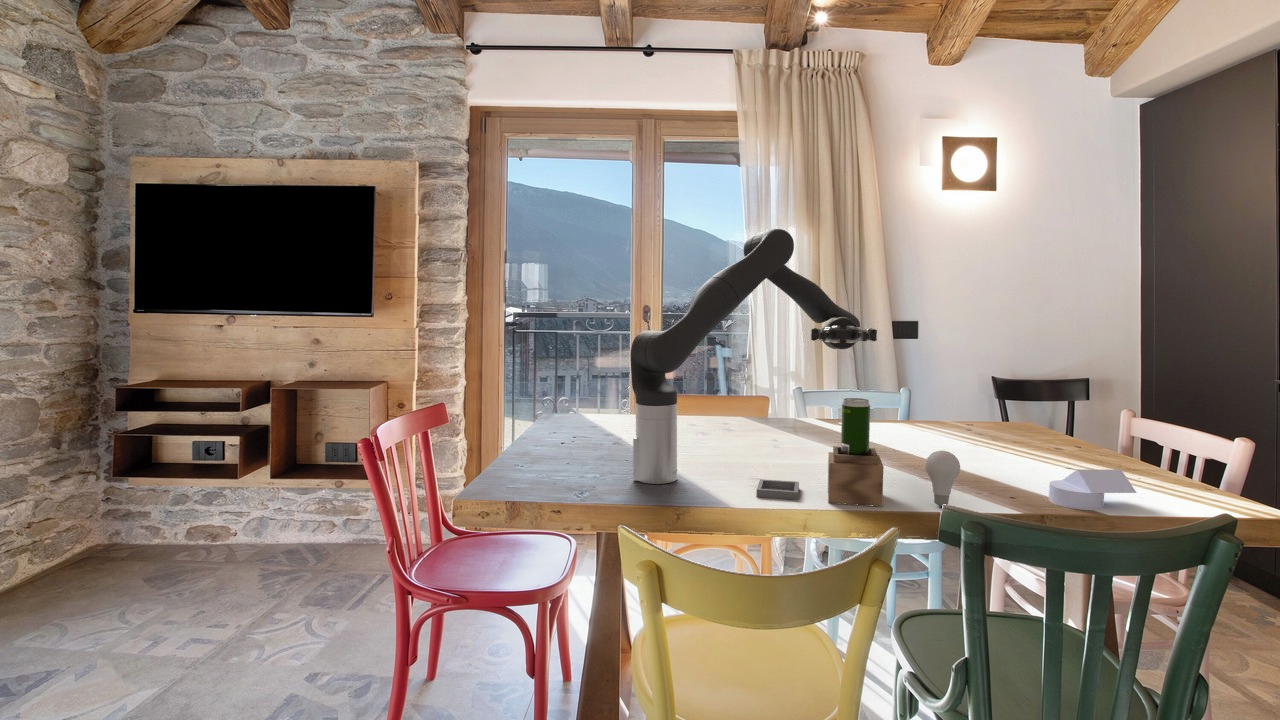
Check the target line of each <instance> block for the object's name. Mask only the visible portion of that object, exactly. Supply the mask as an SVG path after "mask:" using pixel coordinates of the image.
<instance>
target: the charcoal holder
mask: <svg viewBox="0 0 1280 720" xmlns="http://www.w3.org/2000/svg"><path fill="white" fill-rule="evenodd" d="M767 487H768V488H770V489H768V488H767ZM799 491H800V481H793V480H776V479H764V478H763V479H762V478H759V481H758V484H757V487H756V498H767V497H768V498H771V499H781V500H782V499H785V500H794V501H795V500H796V501H798V500H799V493H800V492H799Z"/></svg>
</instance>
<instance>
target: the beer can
mask: <svg viewBox="0 0 1280 720" xmlns="http://www.w3.org/2000/svg"><path fill="white" fill-rule="evenodd" d="M870 419H871V404H870V400H869V399H868V398H867V399H866V398H860V397H859V398H858V397H846V398H843V399H842V403H841V428H840V429H841V431H840V433H841V435H840V447H841V455H859V456H869V448H870V428H871V425H870V424H871V420H870Z"/></svg>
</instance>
